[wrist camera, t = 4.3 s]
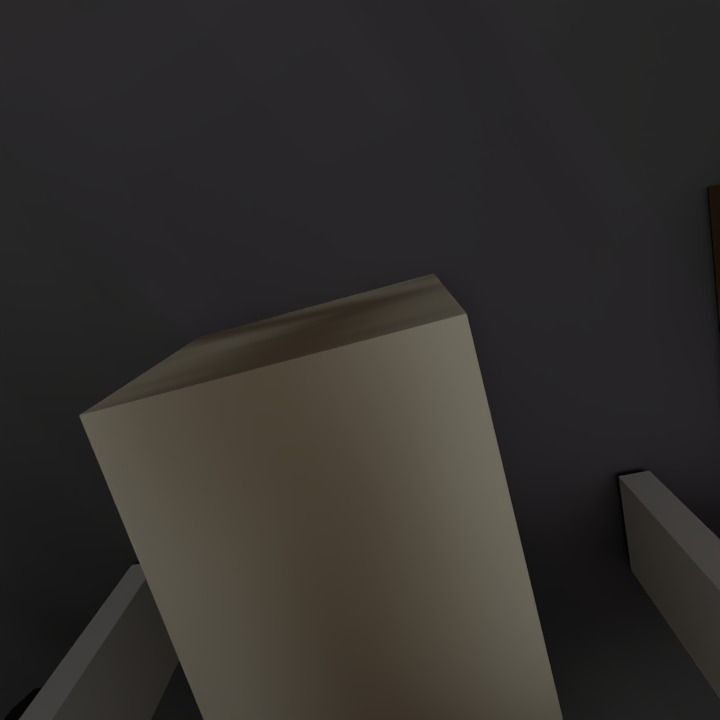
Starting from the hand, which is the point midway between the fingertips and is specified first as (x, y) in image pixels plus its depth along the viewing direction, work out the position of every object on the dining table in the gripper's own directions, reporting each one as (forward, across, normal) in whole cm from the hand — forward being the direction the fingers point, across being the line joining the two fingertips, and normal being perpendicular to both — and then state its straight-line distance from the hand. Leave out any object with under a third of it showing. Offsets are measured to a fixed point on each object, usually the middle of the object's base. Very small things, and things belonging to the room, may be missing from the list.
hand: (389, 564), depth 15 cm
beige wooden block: (0, 0, 0) cm, 0 cm away
